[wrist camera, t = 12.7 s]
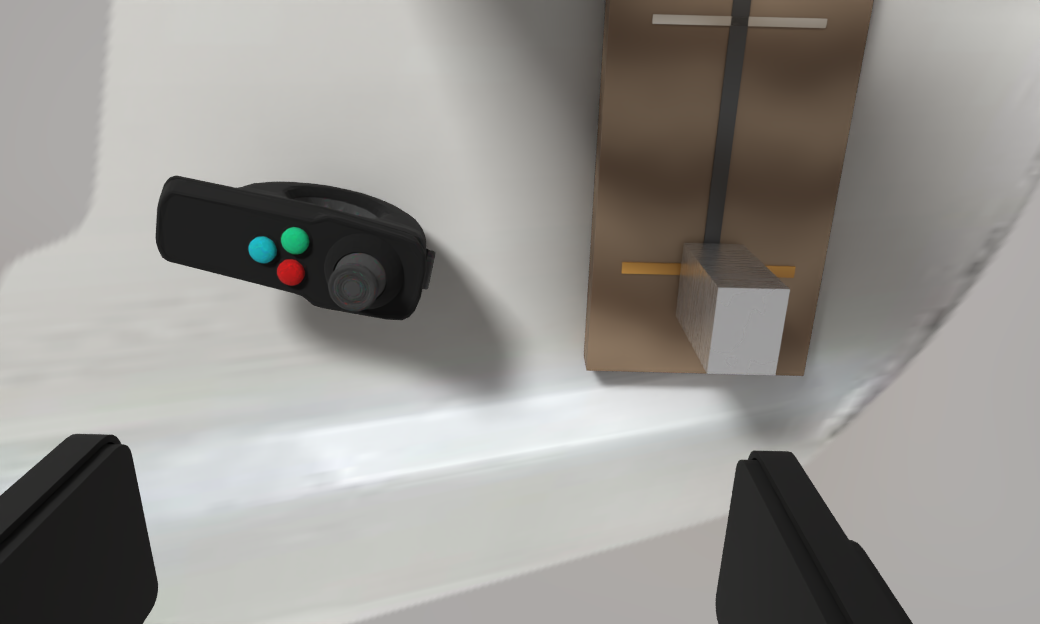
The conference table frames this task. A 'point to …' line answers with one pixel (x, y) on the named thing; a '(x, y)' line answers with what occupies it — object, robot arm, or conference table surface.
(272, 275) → the controller
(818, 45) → the fader console
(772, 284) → the fader tab
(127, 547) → the robot arm
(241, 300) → the conference table surface
